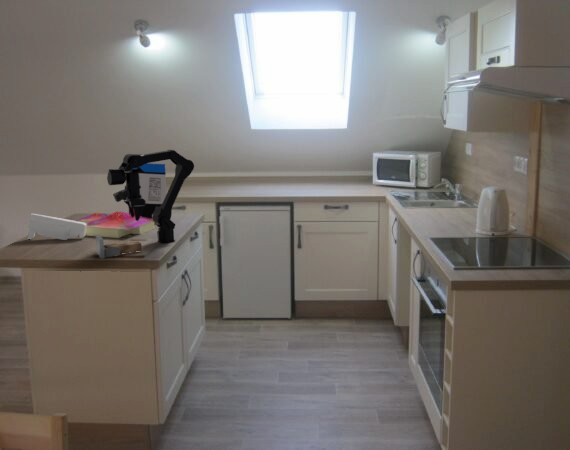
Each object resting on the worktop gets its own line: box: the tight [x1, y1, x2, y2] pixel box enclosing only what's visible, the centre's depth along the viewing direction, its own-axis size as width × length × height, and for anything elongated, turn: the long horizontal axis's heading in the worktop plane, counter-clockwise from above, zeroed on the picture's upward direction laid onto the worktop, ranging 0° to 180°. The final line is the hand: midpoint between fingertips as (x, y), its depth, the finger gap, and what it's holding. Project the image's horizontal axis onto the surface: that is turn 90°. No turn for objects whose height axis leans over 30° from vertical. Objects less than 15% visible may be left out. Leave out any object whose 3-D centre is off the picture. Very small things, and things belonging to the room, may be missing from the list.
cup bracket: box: [94, 234, 121, 260], centre depth 261 cm, size 8×10×8 cm
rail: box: [105, 241, 143, 254], centre depth 264 cm, size 14×4×4 cm, turn 121°
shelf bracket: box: [27, 213, 87, 241], centre depth 289 cm, size 6×25×13 cm, turn 92°
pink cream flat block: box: [76, 211, 156, 239], centre depth 306 cm, size 38×25×10 cm
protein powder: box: [126, 163, 167, 220], centre depth 329 cm, size 10×24×30 cm, turn 67°
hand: (134, 218), depth 275 cm, fingers open, 9 cm apart
